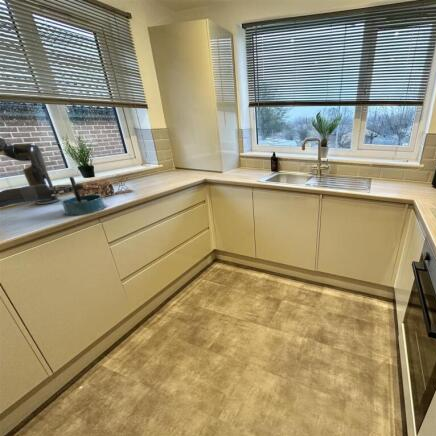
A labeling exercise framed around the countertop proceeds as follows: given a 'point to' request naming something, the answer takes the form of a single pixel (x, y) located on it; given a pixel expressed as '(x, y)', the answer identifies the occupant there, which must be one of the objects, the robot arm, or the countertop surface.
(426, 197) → the countertop surface
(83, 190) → the bread
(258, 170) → the countertop surface
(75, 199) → the bowl
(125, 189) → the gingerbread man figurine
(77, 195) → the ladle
